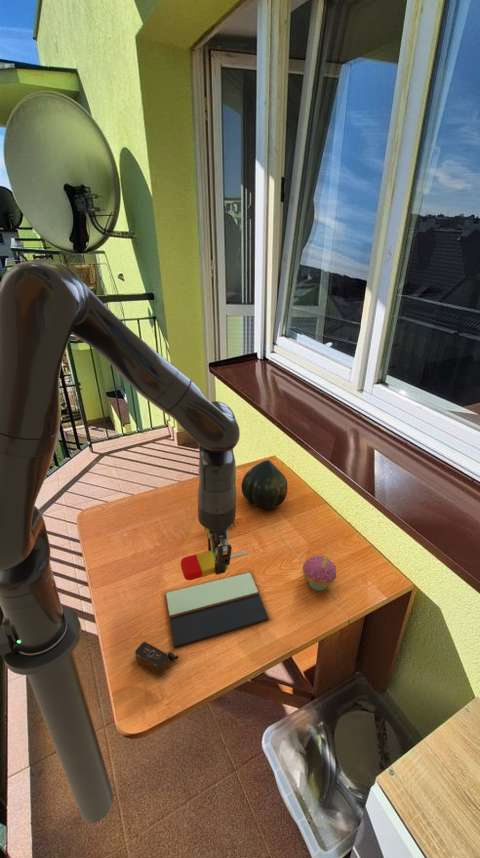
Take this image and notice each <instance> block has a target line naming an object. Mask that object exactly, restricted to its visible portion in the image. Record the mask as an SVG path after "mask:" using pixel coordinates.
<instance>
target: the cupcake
mask: <svg viewBox="0 0 480 858" xmlns="http://www.w3.org/2000/svg"><path fill="white" fill-rule="evenodd" d="M329 557H330V556H329V553H327V554H326V555H325V556H323V555H313V556H309V558H307V559H306V560H305V561H304V563H303V565H302V573H303V577H304V579H305V580H306V581H308V585H309V587H310V588H311V589H313V590H314V591H323V590H326V588H327V587H328V586H329V585H331V584H333V583H334V581H335V580H336V579H337V567H336V565H335V563H334V562H332V560H330V559H329Z"/></svg>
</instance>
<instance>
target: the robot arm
mask: <svg viewBox="0 0 480 858" xmlns="http://www.w3.org/2000/svg"><path fill="white" fill-rule="evenodd" d="M71 336H74V337H75V338H77V339H79V340H80V341H82V342H83V343H85V344H86V345H87V346H89V347H90V348H92V349H93V350H94V351H95V352H96V353H98V355H100V356H101V357H102V358H103V359H105V360H106V361H107V362H108V363H109V365H110V366H111V367H112V368H113V369H114V370H116V372H117V373H118V374H119V375H120V376H121V377H122V378H123V380H124V381H126V383H127V384H128V385H129V386H131V388H133V389H134V391H136V392H137V393H138V394H139V395H140V396H141V397H142V398H144V399H145V400H146V401H148V402H150V403H151V405H153V406H154V407H156V408H158V409H159V410H160V411H162V412H163V413H165V414H166V415H168V416H169V417H171V418H172V419H173V420H174V421H176V423H178V425H179V426H180V427H181V428H182V429H183V430H184V431H185V433H187V435H189V436H190V437H191V438H192V439H193V440H194V441H195V442H196V443H197V444H198V453H199V459H198V487H197V519H198V522H199V525H201V526H202V527H203V528H204V531H205V536H206V539H207V551H210V550H212V552H213V553H214V562H215V573H214V574H215V575H216V576H217V575H221V574H225V573H226V571H227V570H226V565H228V566H229V565H231V564H230V563H231V559H230V557H231V554H232V549H233V548H232V545H231V544H229V538H228V537H229V535H230V534H229V528H230V526H231V527H232V526H233V525H234V524H233V522H234V523H235V522H236V513H237V512H236V511H237V509H236V508H237V486H236V480H237V479H236V476H237V464H236V458H235V453H234V449H235V447H236V446H237V445H238V443H239V441H240V437H241V432H240V426H239V424H238V421H237V419H236V416H235V413H234V411H233V409H232V408H231V407H230V406H229V405H228V404H226V403H225V402H222V401H210V400H209V399H208V398H207V397H205V395H204V393H203V392H202V389H201V388H200V387H199V386H198V385H197V383H196V382H195V381H193V380H192V379H191V378H190V377H188V376H187V375H186V374H185V373H184V372H182V371H181V370H180V369H179V368H177V367H176V366H175V365H174V364H173V363H171V362H170V361H168V359H166V358H165V357H164V356H162V355H161V353H159V352H157V351H156V350H155V349H154V348H152V347H151V346H150V345H149V344H147V342H145V341H144V340H143V339H141V337H139V335H137V334H136V333H134V332H133V331H132V330H131V329H130V328H129V326H127V325H126V324H125V323H124V322H123V321H122V320H121V319H120V318H118V317H117V316H116V315H115V313H113V312H112V310H111V309H110V308H108V307H107V306H106V305H105V303H104V302H103V301H102V300H101V299H100V298H99V297H98V296H97V294H96V293H95V292H94V291H93V290H92V289H91V288H90V287H89V286H88V285H87V283H86V282H84V280H83V279H82V278H81V277H80V276H79V275H78V274H77V273H76V272H75V271H74V270H73V269H72V268H71V267H69V266H68V265H67V264H65V263H63V262H61V261H58V260H55V259H52V258H34V259H31V260H27V261H22V262H19V263H17V264H15V265H13V266H12V267H10V268H9V269H8V270H7V271H6V272H4V274H3V276H2V278H1V281H0V608H1V611H2V613H3V618H2V622H1V624H0V656H2V655H3V654H7V653H11V652H12V651H13V654H14V655H17V654H21V655H23V656H27V657H34V656H39V655H42V654H45V653H47V652H49V651H50V650H52V649H54V648H55V647H56V646H57V645H58V644H59V643H60V642H61V641H62V640H63V638H64V637H65V635H66V633H67V628H68V626H67V622H66V619H65V616H64V613H63V609H62V606H63V605H62V602H61V598H60V594H59V591H58V588H57V583H56V580H55V576H54V572H53V568H52V566H51V546H50V545H51V544H50V540H49V535H48V531H47V526H46V522H45V519H44V516H43V514H42V512H41V510H39V508H38V507H37V506H36V503H37V500H38V497H39V494H40V491H41V489H42V487H43V484H44V482H45V480H46V477H47V474H48V473H49V469H50V467H51V464H52V461H53V458H54V454H55V451H56V447H57V444H58V443H57V442H58V437H59V432H60V428H61V421H62V400H61V389H60V376H61V370H62V365H63V362H64V358H65V354H66V350H67V348H68V344H69V342H70V339H71ZM232 524H233V525H232ZM228 527H229V528H228Z"/></svg>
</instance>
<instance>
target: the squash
mask: <svg viewBox="0 0 480 858" xmlns="http://www.w3.org/2000/svg"><path fill="white" fill-rule="evenodd" d="M240 485H241V493H242V495H243V497H244V498H245V499H246V500H247V502H248V504H249V505H252V506H254V505H255V506H256V507H263V509H264V510H266V511H272V510H273V509H274V508H275V507H278V506H281V505H282V504H283V502H284V501H285V499H286V497H287V494H288V480H287V477H286V476H285V475H284V474H283V473H282V471H281V470H280V469H279V468H278V467H277V466H276V465H275V464H274V463H273V461H271V460H270V459H266V460H263V461H261V462H259V463H257V464H256V465H253V466H252V467H251V468H250V469H248V471H247V472H245V474H244V476H243V478H242V481H241V484H240Z"/></svg>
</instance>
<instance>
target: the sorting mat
mask: <svg viewBox="0 0 480 858" xmlns="http://www.w3.org/2000/svg"><path fill="white" fill-rule="evenodd" d="M165 597H166V603H167V609H168V615H169V616H168V617H169V622H170V628H171V635H172V643H173V648H174V649H176V648H179V647H183V646H185V645H189V644H193V643H196V642H199V641H203V640H207V639H210V638H213V637H216V636H220V635H222V634H226V633H229V632H232V631H236V630H239V629H242V628H246V627H250V626H252V625H257V624H259V623H262V622H266V621H269V620H270V618H269V615H268V613H267V610H266V608H265V605H264V603H263V601H262V597H261V596H260V591H258V588H257V586H256V583H255V581H254V578H253V575H252V573H251V572H246V573H242V574H237V575H234V576H230V577H229V576H228V577H226V578H222V579H218V580H214V581H209V582H205V583H201V584H197V585H193V586H188V587H183V588H181V589H176V590H173V591H169V592H165Z"/></svg>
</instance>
